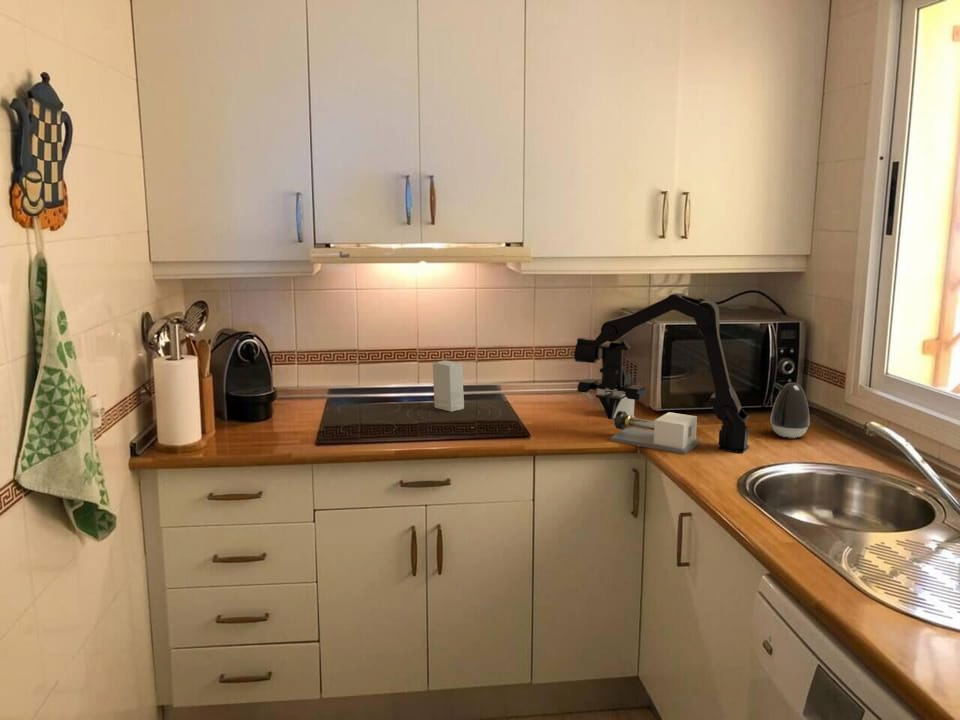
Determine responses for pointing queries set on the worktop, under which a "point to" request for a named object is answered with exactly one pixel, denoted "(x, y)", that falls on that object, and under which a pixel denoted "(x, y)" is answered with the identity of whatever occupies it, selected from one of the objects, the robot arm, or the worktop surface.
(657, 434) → the bearing block
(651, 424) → the metal shaft
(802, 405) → the dark grey egg shape
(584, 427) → the worktop surface
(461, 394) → the skincare box
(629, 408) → the medicine bottle
